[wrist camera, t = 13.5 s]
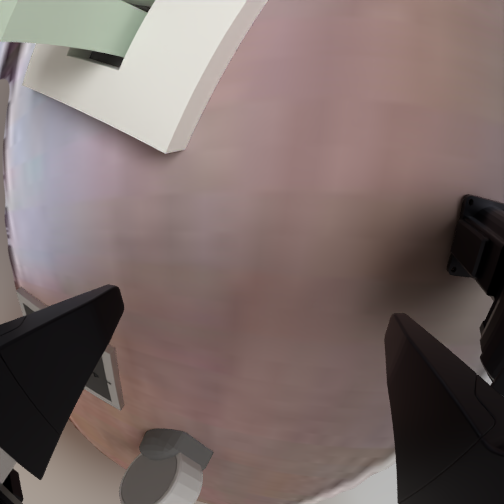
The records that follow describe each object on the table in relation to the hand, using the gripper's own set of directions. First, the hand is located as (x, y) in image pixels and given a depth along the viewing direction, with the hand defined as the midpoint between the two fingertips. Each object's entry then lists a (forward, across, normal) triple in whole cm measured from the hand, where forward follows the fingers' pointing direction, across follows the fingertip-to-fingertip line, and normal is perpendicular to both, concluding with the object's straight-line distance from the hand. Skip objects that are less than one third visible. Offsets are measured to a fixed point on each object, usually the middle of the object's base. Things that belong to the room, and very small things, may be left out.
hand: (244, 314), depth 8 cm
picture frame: (+15, +32, +24) cm, 43 cm away
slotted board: (+13, +13, -15) cm, 24 cm away
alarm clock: (+14, +16, +43) cm, 48 cm away
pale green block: (+13, +13, -15) cm, 24 cm away
